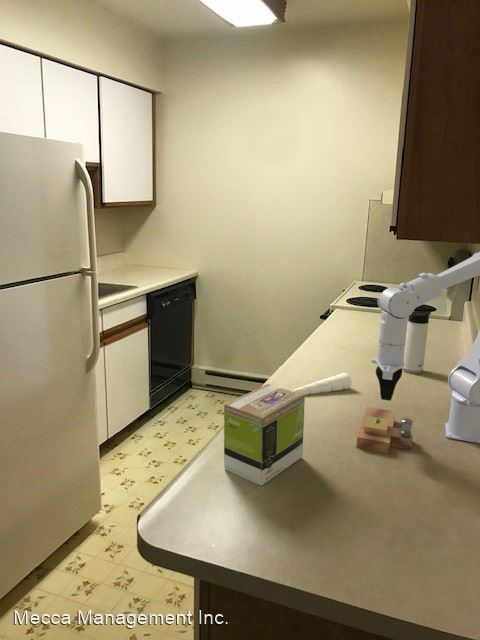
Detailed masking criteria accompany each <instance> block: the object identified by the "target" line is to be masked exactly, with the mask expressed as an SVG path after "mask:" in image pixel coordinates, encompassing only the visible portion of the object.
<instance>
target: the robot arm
mask: <svg viewBox="0 0 480 640" xmlns="http://www.w3.org/2000/svg"><path fill="white" fill-rule="evenodd" d="M475 277H480V251H479V252H475V253H473V255H472V256H470V257H469V258H466V259H465V260H463V261H462V262H459V263H457V264H456V265H453V266H452V267H450V268H448V269H445V270H444V271H442V272H440V273H438V274H435V273H431V272H427V273H426V272H421V273H419V274H418V277H417V278H415V279H412V280H410V281H407V282H406V283H405V282H401V283H400V284H399V285H398V287H388V288H386V289H385V290H383V291H382V293H381V294H380V296H379V298H377V306H378V308H379V309H380V313H381V314H380V323H379V325H380V326H379V333H378V335H379V336H378V346H377V347H378V348H377V353H376V354H377V355H376V356H377V357H372V358H371V361H370V362H371V363H373V364H376V365H377V366H376V368H375V375H376V377H377V380H378V382H379V391H380V392H379V394H380V399H381V400H384V401H389V402H390V401H392V398H393V396H394V392H395V389H396V385H397V384H398V382H399V380H400V379H401V378H402V374H403V367H404V352H405V343H406V334H407V325H408V318H409V316H410V315H411V314H412V313H413V312H414V311H415V309H417V308H418V307H420V306H422V305H425V304H427V303H429V302H431V301H433V300H435V299H438V298H440V297H441V296H442V295H443V292H444V290H445V289H447V288H450V287H452V286H454V285H458V284H459V283H462V282H465V281H467V280H470V279H472V278H475ZM447 384H448V386H449V388H450V389H451V403H450V409H449V416H448V422H445V424H444V426H445V437H446V438H448V439H453V440H458V441H463V442H464V441H465V442H470V443H471V442H472V443H475V442H476V443H475V444H480V329H479V330H478V332H477V335H476V338H475V340H474V342H473V344H472V347H471V349H470V351H469V353H468V356H466V357H464V358H462V359H460V360H459V361H457V365H456V366H455V367H454V369H452V370H451V371H450V373H449V374H448V378H447Z"/></svg>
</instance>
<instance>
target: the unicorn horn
mask: <svg viewBox="0 0 480 640" xmlns="http://www.w3.org/2000/svg"><path fill="white" fill-rule="evenodd" d="M352 382H353V380H352V378H351V375H349V374H348V373H346V372H342V373H339V374H337V375H333V376H330V377H327V378H324V379H321V380H318V381H315V382H312V383H309V384H306V385H302V386H299V387H298V388H295V389H292V390H291V391H293V392H296V393H300V394H303V395H305V396H307V395H316V394H317V395H318V394H321V393H322V394H323V393H330V392H337V391H343V390H349V389H351V387H352V384H353V383H352Z"/></svg>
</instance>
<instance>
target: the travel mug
mask: <svg viewBox="0 0 480 640" xmlns="http://www.w3.org/2000/svg"><path fill="white" fill-rule="evenodd" d="M431 315H432V313H431V311H425V310H416V311H415V310H414V311H413V313H412V314H411V315H410V316H408V324H407V333H406V342H405V352H404V367H402V371H404V372H405V373H408V374H411V375H412V374H414V375H420V374H421V373H423V372H424V365H425V363H424V362H425V356H426V346H427V339H428V338H427V337H428V330H429V319H430V316H431Z"/></svg>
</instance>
